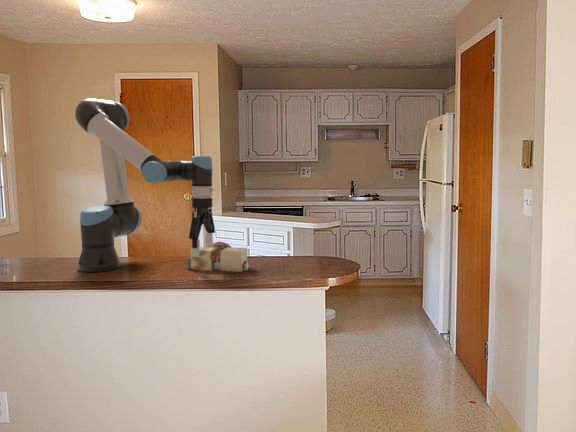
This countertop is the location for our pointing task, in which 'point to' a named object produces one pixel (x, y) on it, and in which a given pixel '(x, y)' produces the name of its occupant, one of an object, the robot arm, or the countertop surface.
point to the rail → (229, 260)
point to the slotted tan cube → (204, 258)
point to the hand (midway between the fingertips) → (202, 253)
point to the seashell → (220, 247)
